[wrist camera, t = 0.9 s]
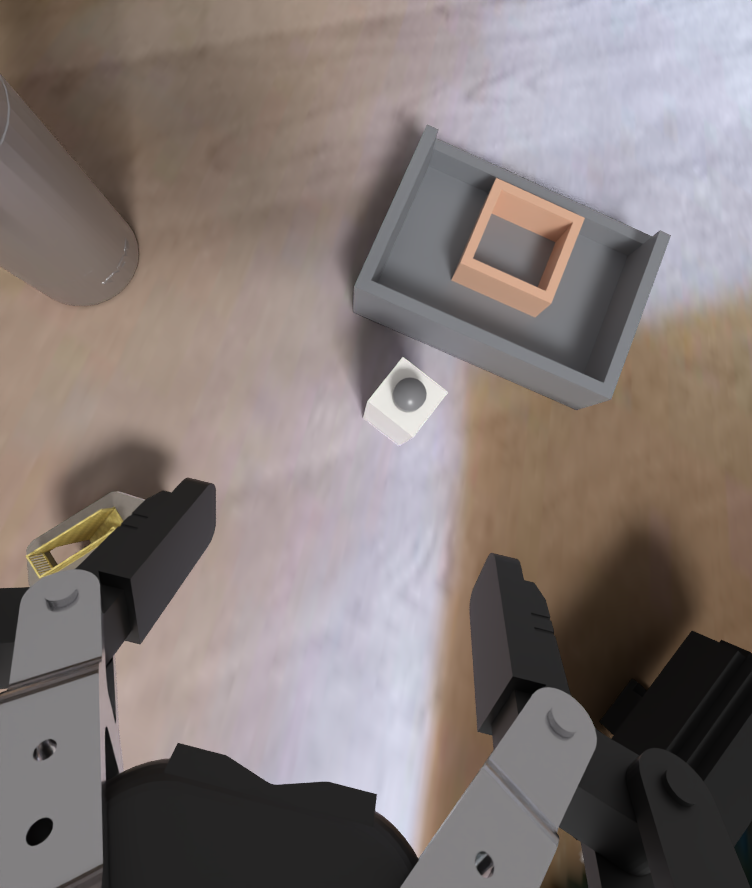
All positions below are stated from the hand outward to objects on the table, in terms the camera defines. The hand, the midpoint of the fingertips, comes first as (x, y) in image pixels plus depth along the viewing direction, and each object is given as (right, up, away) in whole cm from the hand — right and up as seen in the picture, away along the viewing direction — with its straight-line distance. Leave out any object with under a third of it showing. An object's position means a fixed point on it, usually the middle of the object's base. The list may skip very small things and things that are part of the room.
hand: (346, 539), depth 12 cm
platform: (-20, -4, +23) cm, 31 cm away
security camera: (+22, -21, +24) cm, 39 cm away
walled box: (+12, +17, +27) cm, 34 cm away
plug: (+3, +5, +25) cm, 26 cm away
